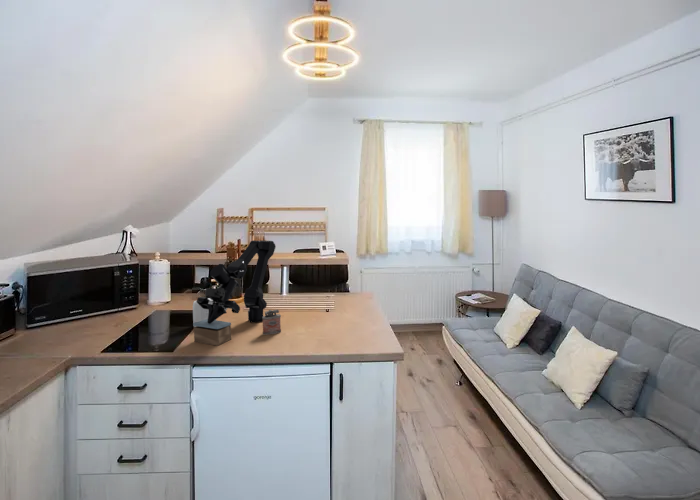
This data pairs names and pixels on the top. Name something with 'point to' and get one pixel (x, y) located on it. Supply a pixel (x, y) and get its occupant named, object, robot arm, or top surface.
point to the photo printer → (199, 312)
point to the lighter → (271, 322)
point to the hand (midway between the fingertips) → (208, 323)
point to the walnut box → (212, 335)
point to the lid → (212, 324)
